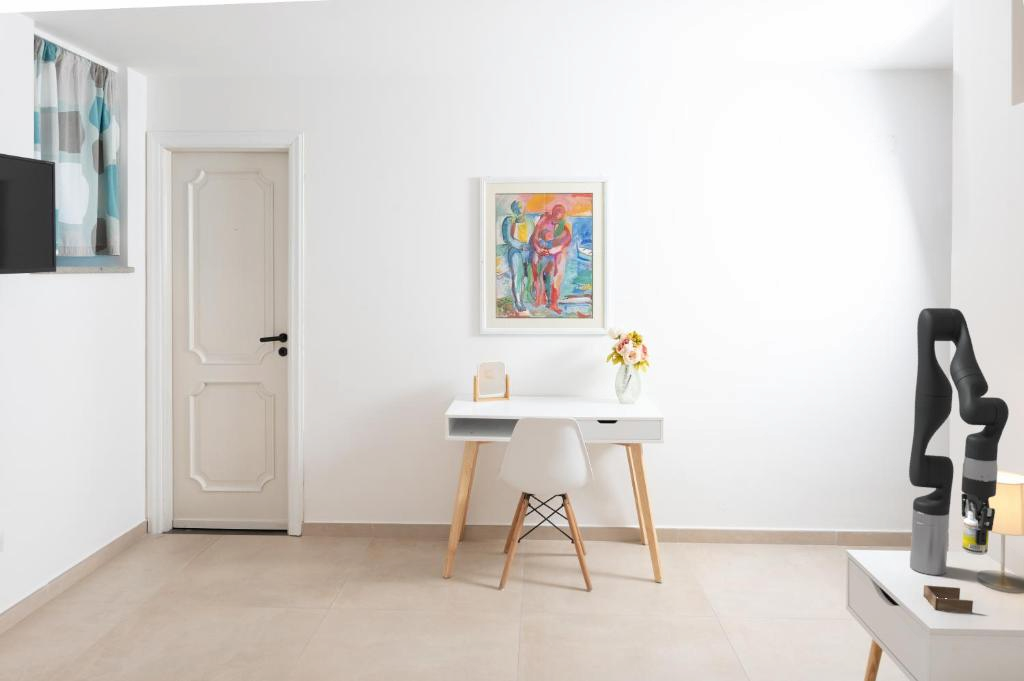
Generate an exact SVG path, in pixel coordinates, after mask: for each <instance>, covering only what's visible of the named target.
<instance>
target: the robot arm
mask: <svg viewBox="0 0 1024 681" xmlns="http://www.w3.org/2000/svg"><path fill="white" fill-rule="evenodd" d="M916 327H917V329H916V330H917V332H916V334H917V338H916V339H917V370H916V372H917V374H916V381H915V382H916V384H915V393H914V394H915V395H914V398H915V399H914V418H913V419H914V420H913V423H914V425H913V436H912V444H911V449H910V450H911V451H910V459H909V468H908V478H909V482H910V483H911V485H912V486H914V487H915V488H916V487H917V488H927V489H928V488H930V489H934V491H931V492H930V493H928V494H926V495H921V496H918V497H916V498H915V499H914V500H913V502H912V520H911V521H912V522H911V538H910V552H909V553H910V556H909V557H910V558H909V568H910V569H911V570H913V571H915V572H917V573H920V574H921V573H922V574H926V575H932V576H935V575H936V576H938V575H939V576H940V575H944V574H945V573H946V571H947V561H948V560H947V559H948V557H947V556H948V541H949V528H950V527H949V526H950V523H949V522H950V508H951V507H950V506H951V500H952V489H953V482H954V474H955V472H954V469H955V468H954V462H953V460H952V459H951V458H950V457H949V456H943V455H930V454H926V451H927V448H928V445H929V444H930V441H931V440H932V438H933V437H934V435H935V433H937V431H938V430H939V429H940V428H941V427H942V425H943V424H944V423H945V422H946V421H947V419H949V418H948V417H949V416H950V415H951V412H952V407H953V406H952V405H953V395H954V394H953V391H954V390H953V386H952V383H951V381H950V380H949V378H948V376H947V375H946V373H945V372H944V370H943V369H942V366H941V365H940V364H939V362H938V358H937V356H936V346H935V344H936V343H935V342H952V343H953V344H954V346H955V352H954V354H953V356H952V359H951V362H950V363H949V364H950V365H949V374H950V377H951V379H952V382H953V385H954V386H955V389H956V390H957V395H958V396H957V397H958V406H959V407H958V409H959V410H958V411H959V416H960V418H961V420H962V421H963V422H965V424H967V425H969V426H970V425H971V426H984V427H983V429H982V430H981V431H979V432H975V433H970V434H968V435H967V436H966V438H965V448H964V458H963V459H964V460H963V463H962V475H961V476H962V477H961V492H962V493H961V516H962V517H963V518H964V519H965V518H968V511H971V512H973V520H974V521H976V529H977V530H976V541H975V543H976V544H977V545H986V537H987V531H991V532H992V531H993V526H994V520H995V514H996V509H995V508H991V507H990V501H989V499H990V498H993V497H995V496H996V494H997V482H998V452H999V451H998V450H999V449H998V448H999V443H1000V439H1001V437H1002V436H1003V435H1002V434H1003V432H1004V429H1005V426H1006V425H1007V422H1008V419H1009V415H1010V414H1009V413H1010V412H1009V411H1010V410H1009V405H1008V404H1007V403H1006V402H1005V400H1003V399H1002V398H1000V397H993V396H992V397H988V396H987V397H984V396H985V395H986V394H987V393H988V391H989V384H988V381H987V380H986V377H985V375H984V373H983V371H982V369H981V368H980V365H979V363H978V361H977V358H976V354H975V350H974V345H973V342H972V338H971V335H970V330H969V327H968V324H967V321H966V317H965V315H964V314H963V312H961V310H960V309H957V308H951V307H945V308H944V307H943V308H942V307H941V308H940V307H938V308H937V307H935V308H933V307H932V308H931V307H930V308H929V307H928V308H926V307H925V308H923V309H921V311H920V313H919V314H918V317H917V326H916ZM978 516H981V518H980V517H978ZM964 519H963V520H964ZM988 522H989V525H988Z"/></svg>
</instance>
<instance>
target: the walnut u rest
mask: <svg viewBox="0 0 1024 681" xmlns="http://www.w3.org/2000/svg"><path fill="white" fill-rule="evenodd" d="M960 594H961V588H960V587H956V586H955V587H953V586H938V585H926V584H925V585H924V586H923V597H924V599H925V598H926V599H927V600H928V601H927V600H926V599H925V600H926V601H927V602H928V603H929V605H930V606H931V605H932V606H933V607H932V606H931V607H932V608H933V609H934V610H935V611H942V610H944V612H956V613H970V614H971V613H973V606H974V604H973V603H974V600H972V599H971V600H970V599H960V598H961V595H960ZM937 597H938V598H937ZM945 598H947V599H945Z"/></svg>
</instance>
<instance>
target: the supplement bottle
mask: <svg viewBox="0 0 1024 681" xmlns="http://www.w3.org/2000/svg"><path fill="white" fill-rule="evenodd" d="M978 517H980V518H981V516H978ZM964 518H965V517H964ZM988 525H989V522H988ZM976 530H977V529H976V521H974V520H973V512H971V511H968V518H965V519H963V530H962V547H961V548H962V550H963V551H964V552H966V553H967V554H972V555H979V556H980V555H981V556H982V555H983V556H984V555H986V554H987V553H988V549H989V548H988V547H989V533H990V532H989V531H987V537H986V545H977V544H976V543H975V541H976Z"/></svg>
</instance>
